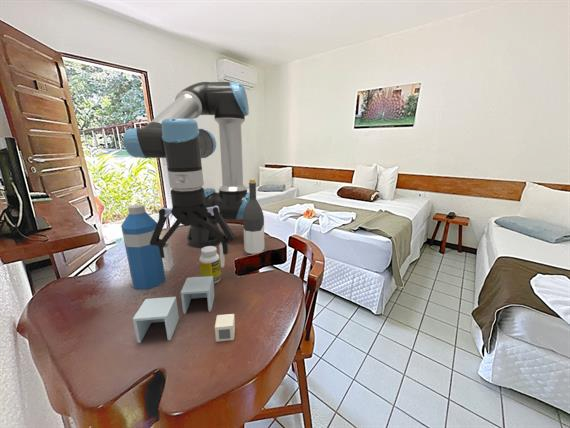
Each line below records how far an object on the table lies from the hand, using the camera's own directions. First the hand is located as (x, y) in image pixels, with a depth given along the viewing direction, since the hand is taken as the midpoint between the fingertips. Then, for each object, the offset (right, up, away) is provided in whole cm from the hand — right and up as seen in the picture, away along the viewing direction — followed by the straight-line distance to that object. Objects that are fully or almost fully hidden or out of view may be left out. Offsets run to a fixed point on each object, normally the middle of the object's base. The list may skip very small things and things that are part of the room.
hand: (196, 266), depth 65 cm
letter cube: (+10, -14, -8) cm, 19 cm away
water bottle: (-20, -8, +13) cm, 25 cm away
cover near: (-6, -14, -7) cm, 17 cm away
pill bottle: (0, -8, +14) cm, 16 cm away
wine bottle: (+11, -2, +34) cm, 36 cm away
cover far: (0, -11, +3) cm, 11 cm away
